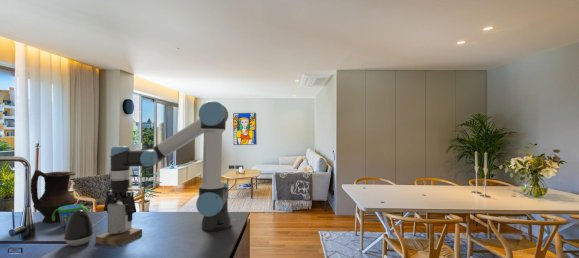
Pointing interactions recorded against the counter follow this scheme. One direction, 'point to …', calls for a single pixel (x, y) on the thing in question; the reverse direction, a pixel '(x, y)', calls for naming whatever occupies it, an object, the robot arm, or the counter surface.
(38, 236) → the counter surface
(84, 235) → the egg shaped speaker
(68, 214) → the snack cup
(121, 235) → the pedestal
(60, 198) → the jug
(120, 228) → the white canister
